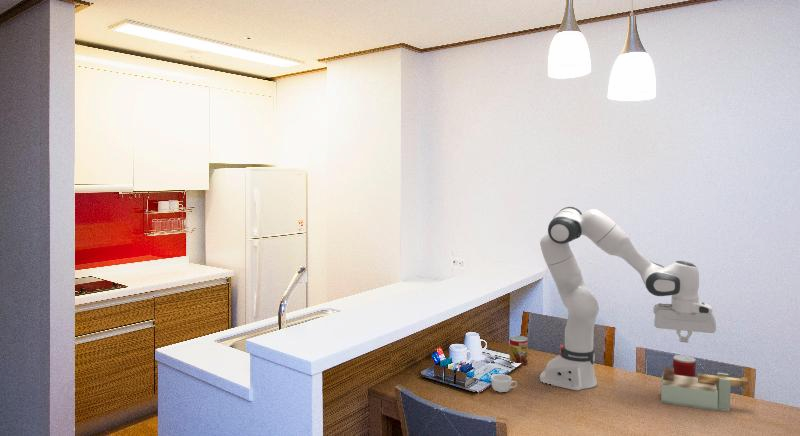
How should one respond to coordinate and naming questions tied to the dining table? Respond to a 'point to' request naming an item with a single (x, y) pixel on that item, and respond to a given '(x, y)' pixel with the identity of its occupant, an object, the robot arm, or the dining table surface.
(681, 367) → the canned food
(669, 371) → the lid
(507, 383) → the teacup
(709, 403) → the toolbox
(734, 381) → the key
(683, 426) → the dining table surface
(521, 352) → the canned food
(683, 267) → the robot arm
